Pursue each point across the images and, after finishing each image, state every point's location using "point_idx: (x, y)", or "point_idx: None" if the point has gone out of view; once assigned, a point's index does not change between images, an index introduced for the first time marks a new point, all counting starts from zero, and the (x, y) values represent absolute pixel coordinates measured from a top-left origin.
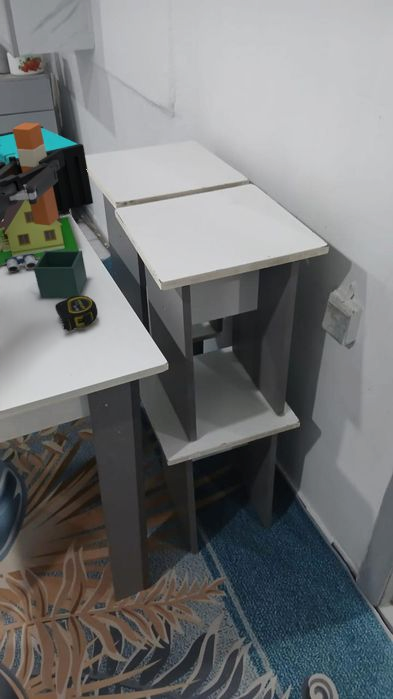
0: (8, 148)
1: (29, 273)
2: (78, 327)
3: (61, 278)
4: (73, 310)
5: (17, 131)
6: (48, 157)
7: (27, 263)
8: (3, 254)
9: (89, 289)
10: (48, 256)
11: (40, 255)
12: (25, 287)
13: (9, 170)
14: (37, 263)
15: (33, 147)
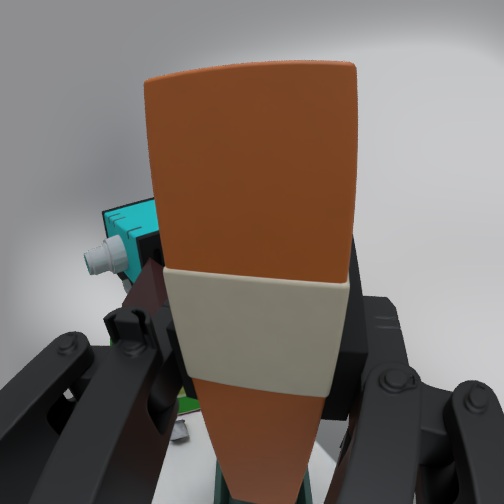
0: (133, 220)
1: (178, 452)
2: None
3: None
4: None
5: (194, 94)
6: (357, 295)
7: (173, 439)
8: None
9: (315, 501)
10: None
11: (189, 405)
12: (181, 496)
13: (117, 465)
14: (216, 502)
15: (347, 256)
